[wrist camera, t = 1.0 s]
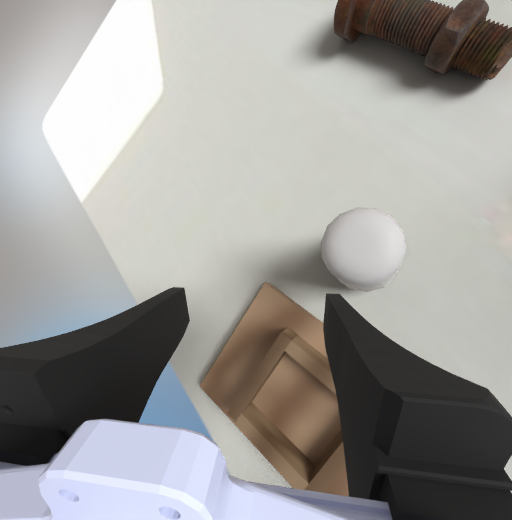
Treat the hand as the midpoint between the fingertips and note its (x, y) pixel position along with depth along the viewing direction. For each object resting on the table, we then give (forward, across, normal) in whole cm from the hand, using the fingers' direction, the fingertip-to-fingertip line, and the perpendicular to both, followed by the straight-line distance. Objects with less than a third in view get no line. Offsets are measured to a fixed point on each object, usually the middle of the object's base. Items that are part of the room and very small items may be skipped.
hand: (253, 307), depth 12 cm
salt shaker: (+13, -9, +3) cm, 16 cm away
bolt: (+22, -13, -16) cm, 30 cm away
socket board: (+8, -4, +16) cm, 19 cm away
